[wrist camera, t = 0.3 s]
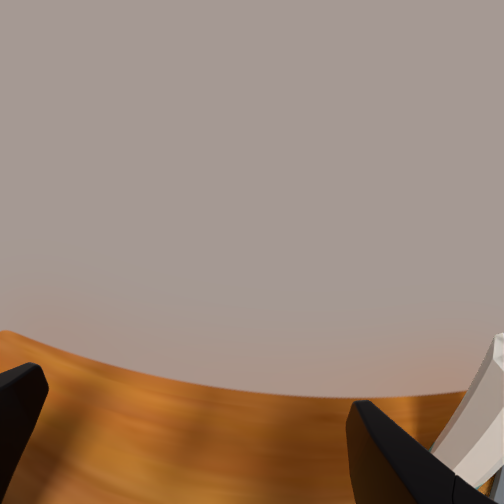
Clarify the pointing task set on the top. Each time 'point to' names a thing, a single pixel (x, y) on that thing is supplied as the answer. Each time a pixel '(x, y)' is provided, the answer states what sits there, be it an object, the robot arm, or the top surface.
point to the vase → (477, 424)
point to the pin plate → (498, 487)
